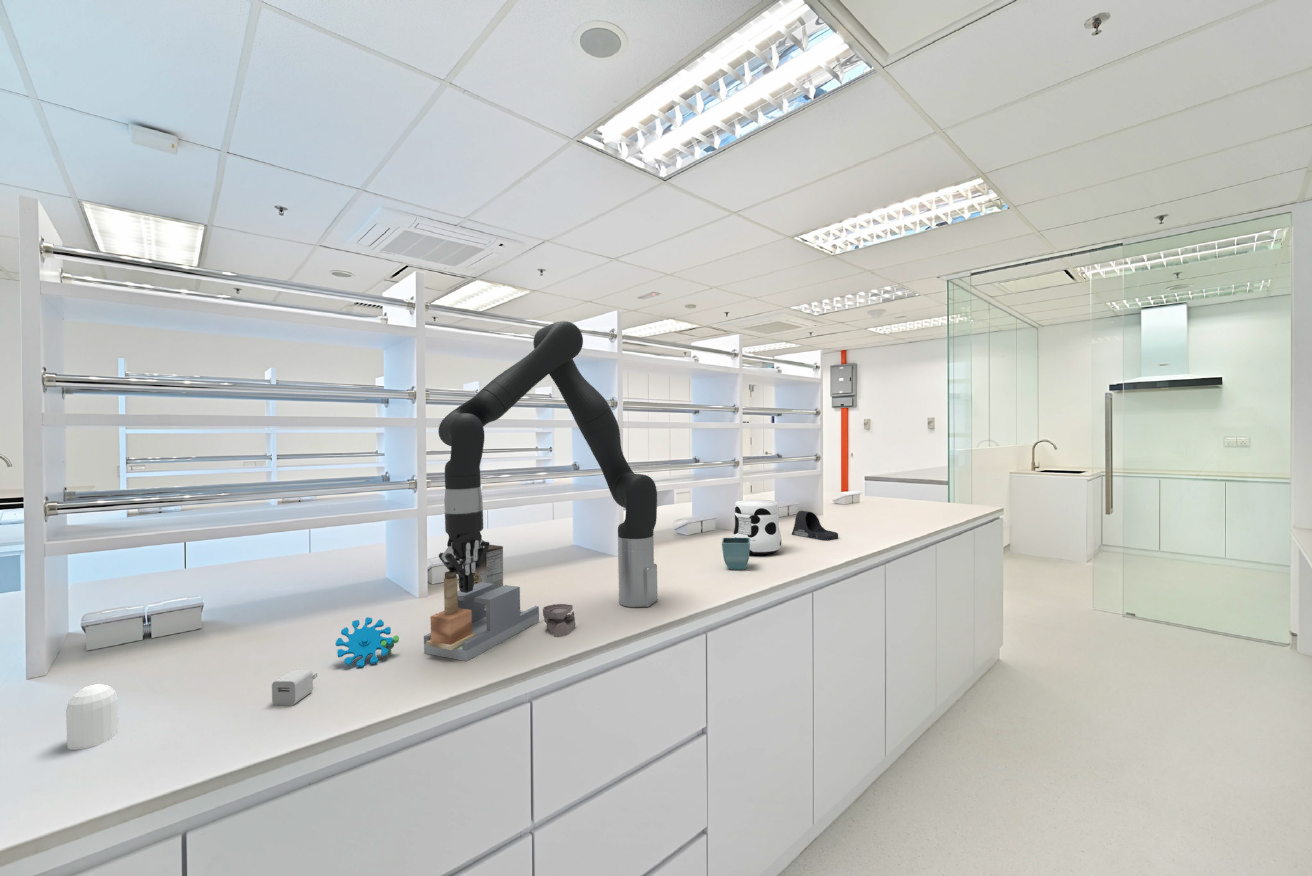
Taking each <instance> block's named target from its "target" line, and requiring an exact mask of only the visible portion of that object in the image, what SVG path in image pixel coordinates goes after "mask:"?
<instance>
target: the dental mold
mask: <svg viewBox="0 0 1312 876" xmlns="http://www.w3.org/2000/svg"><path fill="white" fill-rule="evenodd" d="M573 609H574V606H573V605H572V604H567V603H557V604H556V603H555V604H549V605H546V606H543V608H542V616H543V618H544V623H546V626H545V627H546V628H545V630H544V632H547V633H549V634H550V635H552V636H553V637H555V638H559V637H564V636H567V635H569V634H570V633H571V632H573V631H574V630H575V629H576V617H575V610H573Z"/></svg>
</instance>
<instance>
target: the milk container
mask: <svg viewBox="0 0 1312 876" xmlns="http://www.w3.org/2000/svg"><path fill="white" fill-rule="evenodd" d="M734 503H735V504H734V529H733V533H732V538H750V551H749V555H769V554H774V553H777V552H778V551H780V549H781V546H782V534H781V531H780V526H779V525H780V524H779V519H780V518H779V516H780V515H779V503H778V501H775V500H768V499H743V500H737V501H735V502H734Z"/></svg>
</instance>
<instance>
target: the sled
mask: <svg viewBox="0 0 1312 876" xmlns="http://www.w3.org/2000/svg"><path fill="white" fill-rule="evenodd" d="M457 591H458V576H457V574H456V571H449V570H448V571H445V572H444V578H443V597H444V598H443V600H444V601H443V605H444V610H442V611H440V612H437V613H435V614H432V615H430V617H429V618H430V633H431V640H429V641H427V642H426V646H431V647H436V648H442V649H447V650H453V649H455V648H457V647H459V646H461V645H462V643H463V642H465V641H467V640H469V639H471V638H473V637H475V636H476V634H475V633H472V611H471V610H469V609H462V608H458V592H457Z"/></svg>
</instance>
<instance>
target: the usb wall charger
mask: <svg viewBox="0 0 1312 876" xmlns="http://www.w3.org/2000/svg"><path fill="white" fill-rule="evenodd" d="M317 677H318V673H314V674H313V672H312V670H310V669H292V670H290V671H289V672H286V674H284V675H283V676H281V677H279V678H278V679H276V680H274V681H273V682H272V683H271V702H272V704H273V705H275V706H294V705H296V703H298V702H300V701H301V700H302V699H304V698H305V697H307V696H308V695H309V694H311V693H312V692H313V690H314V680H316V678H317Z"/></svg>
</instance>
